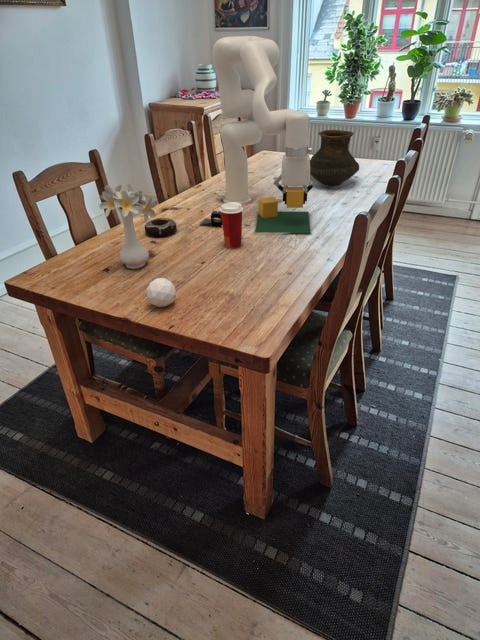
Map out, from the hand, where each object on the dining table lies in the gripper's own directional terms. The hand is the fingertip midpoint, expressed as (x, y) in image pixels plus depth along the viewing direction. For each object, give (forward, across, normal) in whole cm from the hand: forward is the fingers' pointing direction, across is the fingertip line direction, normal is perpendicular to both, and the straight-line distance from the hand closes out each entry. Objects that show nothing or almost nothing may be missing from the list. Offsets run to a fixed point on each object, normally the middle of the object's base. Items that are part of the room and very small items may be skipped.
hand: (294, 202), depth 162 cm
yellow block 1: (+8, +10, -9) cm, 16 cm away
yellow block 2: (+1, 0, 0) cm, 1 cm away
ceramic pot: (+9, -18, -53) cm, 57 cm away
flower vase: (+9, +50, +35) cm, 62 cm away
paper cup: (+9, +21, +19) cm, 30 cm away
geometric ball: (+9, +36, +59) cm, 70 cm away
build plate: (+9, +29, -1) cm, 30 cm away
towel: (+9, +4, -2) cm, 10 cm away
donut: (+9, +49, +8) cm, 51 cm away
